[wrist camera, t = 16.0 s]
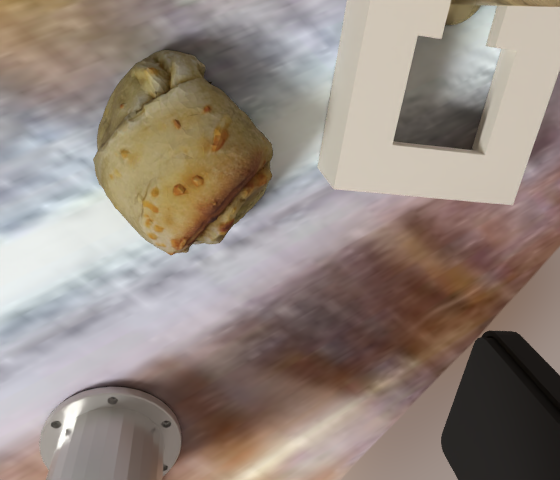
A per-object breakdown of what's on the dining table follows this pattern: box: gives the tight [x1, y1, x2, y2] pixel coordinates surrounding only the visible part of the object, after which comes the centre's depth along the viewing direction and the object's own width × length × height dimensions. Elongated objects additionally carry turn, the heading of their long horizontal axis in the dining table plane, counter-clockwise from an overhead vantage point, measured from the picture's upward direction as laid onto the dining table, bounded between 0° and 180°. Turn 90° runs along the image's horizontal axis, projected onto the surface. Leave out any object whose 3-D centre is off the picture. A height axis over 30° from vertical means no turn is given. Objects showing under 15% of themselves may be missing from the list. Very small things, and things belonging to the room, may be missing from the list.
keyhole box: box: [317, 0, 560, 205], centre depth 35 cm, size 20×14×5 cm
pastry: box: [93, 50, 273, 255], centre depth 35 cm, size 14×12×8 cm
